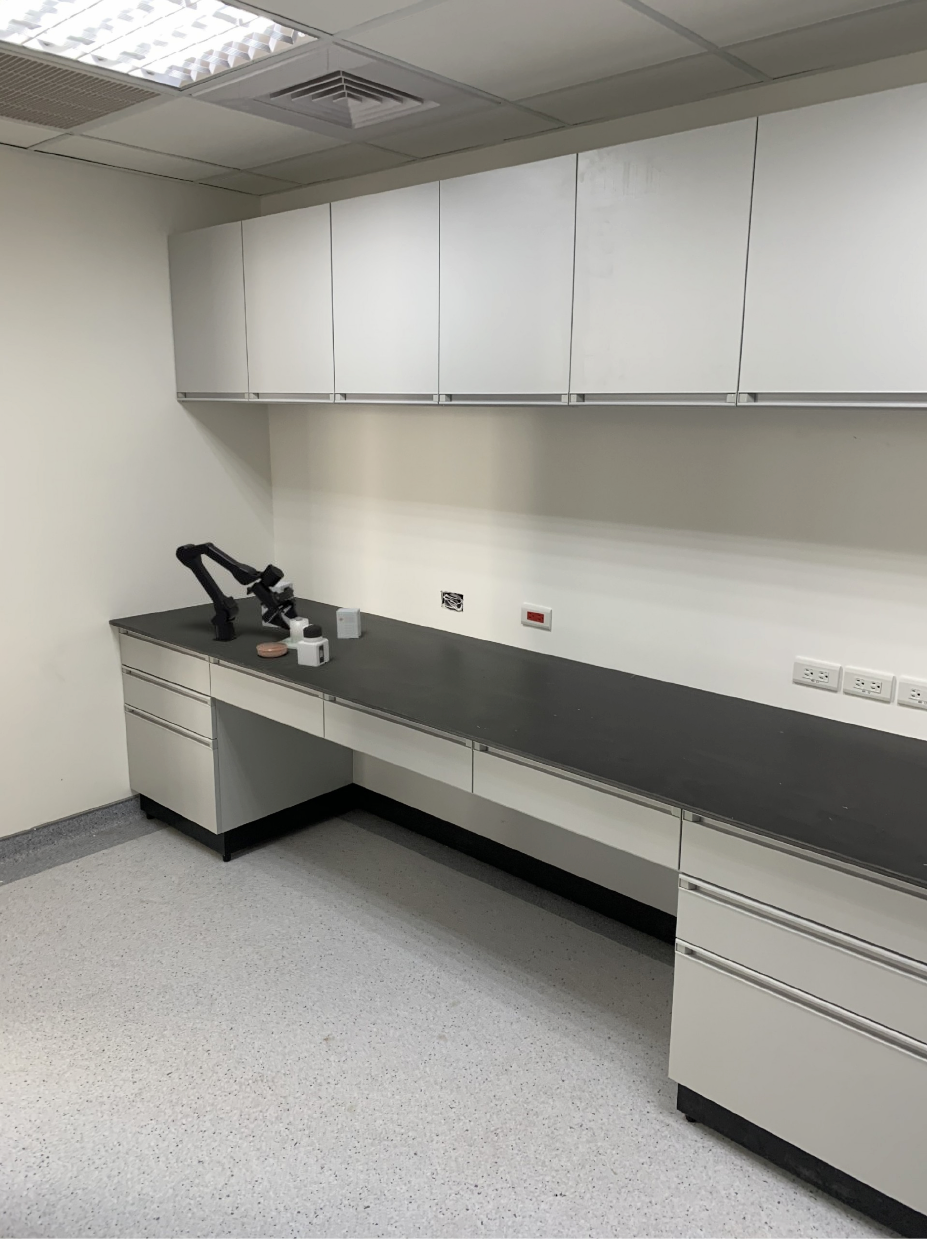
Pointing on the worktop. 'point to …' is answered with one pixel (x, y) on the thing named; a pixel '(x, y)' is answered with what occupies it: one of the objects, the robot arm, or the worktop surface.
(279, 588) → the supplement box
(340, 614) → the small box
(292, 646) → the mat
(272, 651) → the bowl
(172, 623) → the worktop surface
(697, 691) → the worktop surface
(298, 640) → the bottle
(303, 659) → the container
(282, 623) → the robot arm
